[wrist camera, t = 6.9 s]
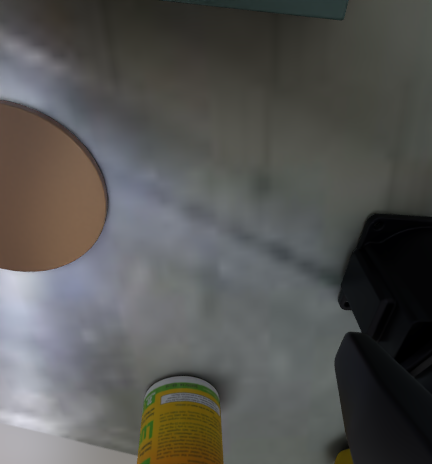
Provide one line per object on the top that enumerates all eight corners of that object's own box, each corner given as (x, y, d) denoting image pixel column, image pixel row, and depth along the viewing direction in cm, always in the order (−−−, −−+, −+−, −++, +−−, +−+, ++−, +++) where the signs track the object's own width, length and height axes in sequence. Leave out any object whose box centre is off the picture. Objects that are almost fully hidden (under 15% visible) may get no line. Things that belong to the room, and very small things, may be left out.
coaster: (103, 107, 17) (101, 111, 17) (111, 270, 22) (110, 275, 22) (-123, 88, 17) (-131, 91, 16) (-62, 261, 22) (-67, 267, 21)
